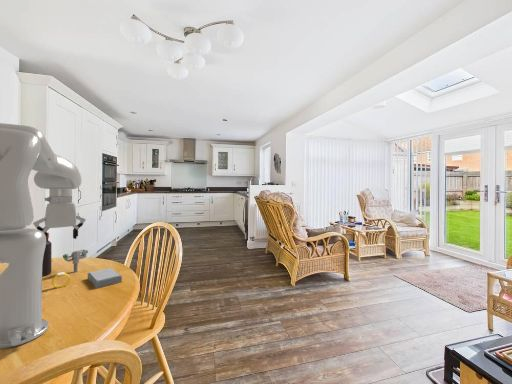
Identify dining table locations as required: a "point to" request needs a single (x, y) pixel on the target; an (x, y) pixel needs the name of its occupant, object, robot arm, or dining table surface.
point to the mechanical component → (75, 258)
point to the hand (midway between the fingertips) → (60, 240)
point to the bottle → (47, 259)
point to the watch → (60, 275)
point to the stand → (104, 277)
